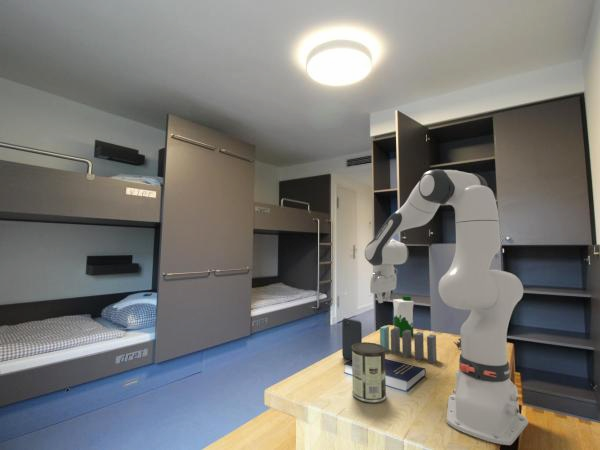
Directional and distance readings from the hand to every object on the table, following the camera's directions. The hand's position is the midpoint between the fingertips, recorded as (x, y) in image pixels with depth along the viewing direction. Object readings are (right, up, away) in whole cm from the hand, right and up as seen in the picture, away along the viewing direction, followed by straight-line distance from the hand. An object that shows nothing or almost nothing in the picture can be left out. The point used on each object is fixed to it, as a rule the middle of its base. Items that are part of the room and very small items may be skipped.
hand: (383, 301), depth 132 cm
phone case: (-17, -20, -14) cm, 30 cm away
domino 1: (0, -21, -2) cm, 21 cm away
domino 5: (+15, -20, -15) cm, 29 cm away
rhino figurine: (+37, -22, -3) cm, 43 cm away
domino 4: (+11, -20, -11) cm, 26 cm away
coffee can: (-16, -18, -41) cm, 48 cm away
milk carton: (+16, -23, +21) cm, 35 cm away
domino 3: (+8, -21, -8) cm, 23 cm away
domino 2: (+4, -21, -5) cm, 22 cm away
